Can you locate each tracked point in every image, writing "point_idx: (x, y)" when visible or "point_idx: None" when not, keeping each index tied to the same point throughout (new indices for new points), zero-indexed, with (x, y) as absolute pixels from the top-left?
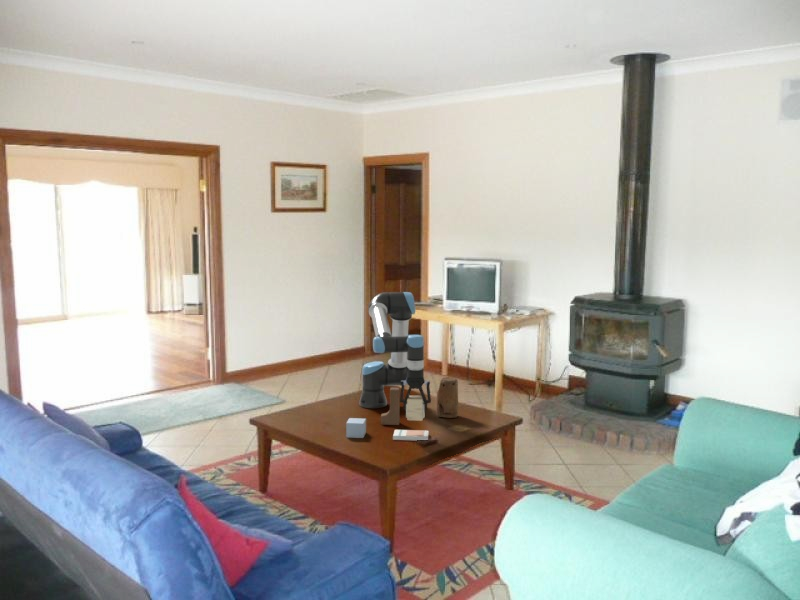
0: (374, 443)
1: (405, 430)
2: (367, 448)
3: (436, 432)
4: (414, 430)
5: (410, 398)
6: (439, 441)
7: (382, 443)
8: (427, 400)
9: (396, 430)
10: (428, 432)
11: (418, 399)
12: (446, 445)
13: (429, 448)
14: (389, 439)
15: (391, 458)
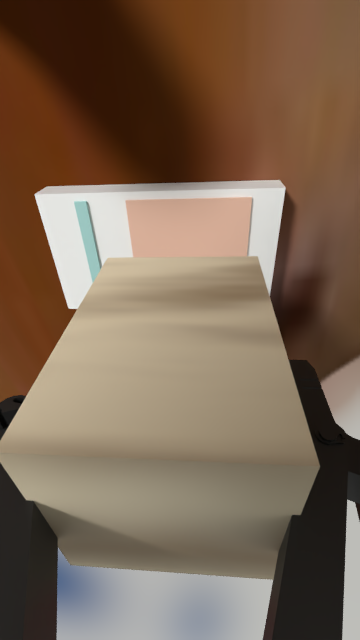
0: (14, 344)
1: (113, 205)
2: (17, 391)
3: (351, 106)
4: (178, 207)
5: (103, 555)
6: (332, 296)
7: (48, 342)
8: (354, 493)
9: (52, 213)
10: (281, 204)
11: (219, 573)
12: (356, 345)
13: None
14: (57, 290)
15: None
